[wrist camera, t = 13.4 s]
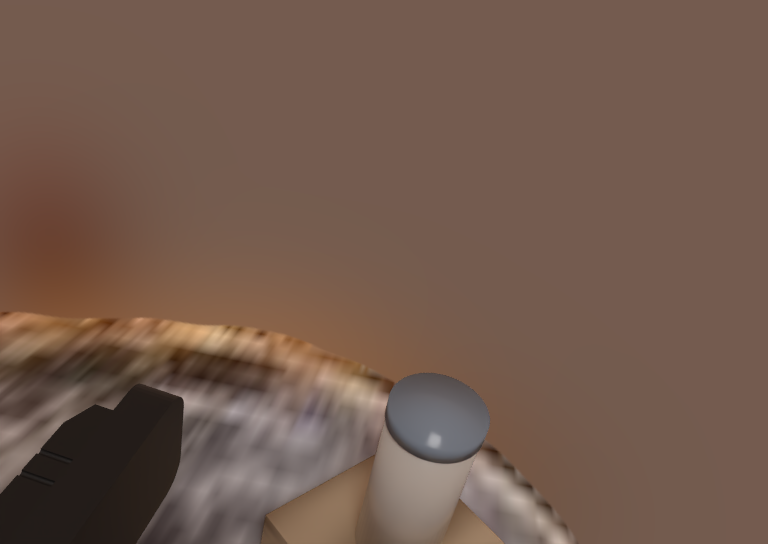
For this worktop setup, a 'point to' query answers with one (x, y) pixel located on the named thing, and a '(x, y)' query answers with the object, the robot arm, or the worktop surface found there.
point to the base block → (352, 515)
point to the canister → (421, 460)
